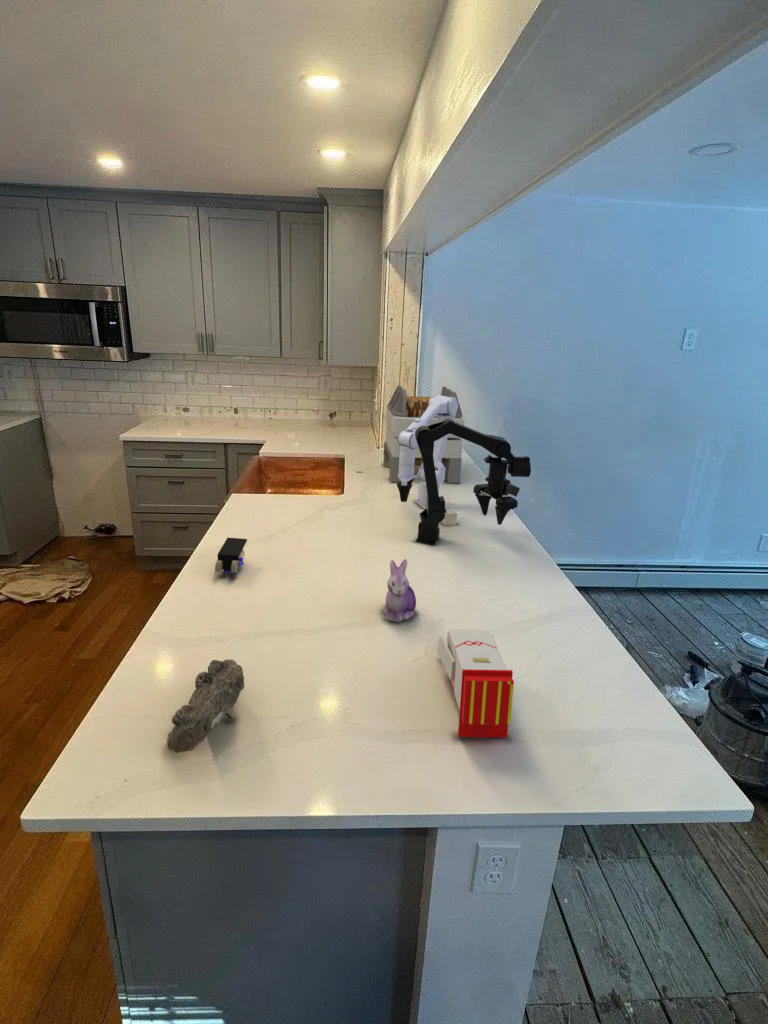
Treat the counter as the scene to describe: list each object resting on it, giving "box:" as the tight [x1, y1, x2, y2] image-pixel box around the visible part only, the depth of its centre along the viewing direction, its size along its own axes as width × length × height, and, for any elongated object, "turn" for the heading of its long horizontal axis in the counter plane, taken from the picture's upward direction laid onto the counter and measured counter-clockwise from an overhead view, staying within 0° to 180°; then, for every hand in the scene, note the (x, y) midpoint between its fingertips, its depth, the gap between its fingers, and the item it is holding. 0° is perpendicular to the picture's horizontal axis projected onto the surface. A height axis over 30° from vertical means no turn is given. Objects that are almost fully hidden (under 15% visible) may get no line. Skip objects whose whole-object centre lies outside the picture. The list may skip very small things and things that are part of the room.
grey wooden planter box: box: [383, 384, 465, 484], centre depth 268 cm, size 34×33×41 cm
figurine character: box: [214, 537, 248, 578], centre depth 166 cm, size 7×8×15 cm
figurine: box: [384, 558, 417, 623], centre depth 145 cm, size 9×10×15 cm
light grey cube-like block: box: [440, 508, 458, 526], centre depth 212 cm, size 4×5×4 cm
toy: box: [437, 628, 515, 738], centre depth 117 cm, size 12×13×30 cm
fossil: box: [166, 658, 245, 754], centre depth 106 cm, size 22×10×15 cm
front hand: (492, 519), depth 193 cm, fingers open, 9 cm apart
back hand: (404, 498), depth 215 cm, fingers open, 7 cm apart
